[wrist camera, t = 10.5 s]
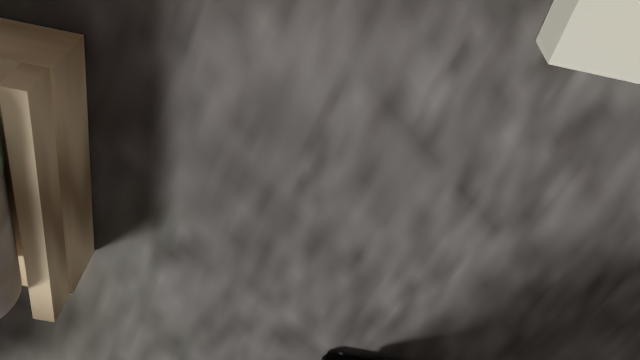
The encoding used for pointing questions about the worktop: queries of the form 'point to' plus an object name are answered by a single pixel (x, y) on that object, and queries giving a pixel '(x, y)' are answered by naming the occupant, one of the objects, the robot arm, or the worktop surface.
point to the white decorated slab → (594, 37)
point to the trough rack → (43, 167)
